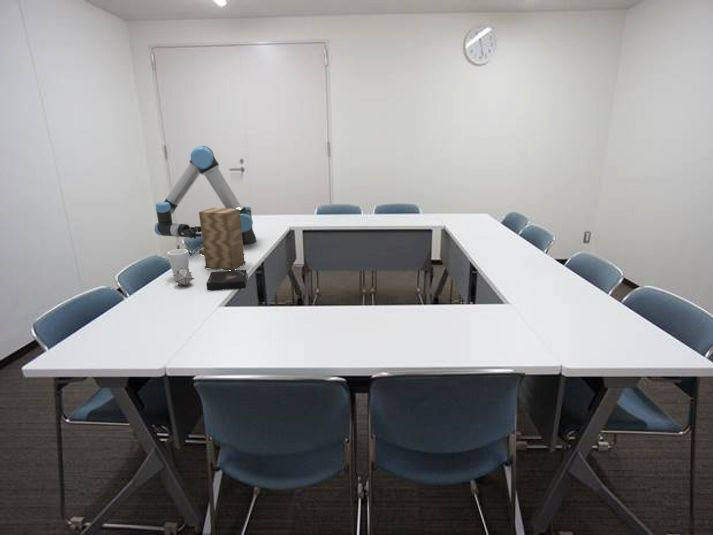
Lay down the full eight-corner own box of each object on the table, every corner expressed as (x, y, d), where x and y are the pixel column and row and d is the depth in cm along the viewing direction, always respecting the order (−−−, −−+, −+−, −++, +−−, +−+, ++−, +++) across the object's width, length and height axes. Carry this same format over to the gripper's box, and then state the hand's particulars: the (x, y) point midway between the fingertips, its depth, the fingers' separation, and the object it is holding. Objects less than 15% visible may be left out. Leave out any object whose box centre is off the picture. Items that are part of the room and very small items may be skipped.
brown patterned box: (204, 268, 211) (197, 212, 201) (218, 261, 223) (212, 207, 213) (233, 270, 207) (227, 213, 198) (245, 263, 219) (240, 209, 209)
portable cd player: (246, 289, 185) (245, 280, 183) (207, 291, 181) (206, 283, 180) (248, 277, 200) (247, 269, 199) (212, 279, 197) (211, 271, 195)
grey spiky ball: (183, 291, 190) (177, 272, 192) (199, 285, 190) (194, 266, 192) (172, 289, 181) (167, 268, 183) (189, 282, 181) (184, 262, 183)
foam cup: (184, 280, 193) (180, 255, 189) (167, 279, 195) (163, 254, 191) (195, 274, 202) (192, 249, 198) (179, 273, 204) (175, 248, 199)
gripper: (194, 231, 245) (226, 233, 240) (167, 242, 222) (201, 244, 217) (193, 219, 242) (224, 221, 238) (165, 228, 219) (200, 231, 215)
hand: (213, 232), depth 227 cm, fingers open, 13 cm apart
